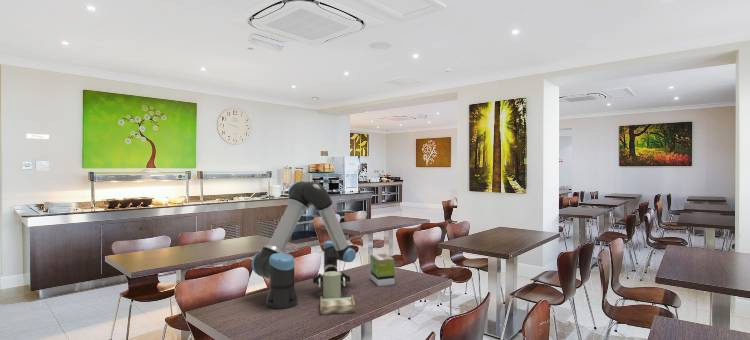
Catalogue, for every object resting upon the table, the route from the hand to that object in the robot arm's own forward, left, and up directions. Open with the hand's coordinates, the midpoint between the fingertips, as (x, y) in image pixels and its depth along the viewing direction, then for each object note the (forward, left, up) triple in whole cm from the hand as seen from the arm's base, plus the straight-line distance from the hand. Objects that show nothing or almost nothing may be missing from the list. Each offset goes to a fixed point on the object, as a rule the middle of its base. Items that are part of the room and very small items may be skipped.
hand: (332, 283), depth 206 cm
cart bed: (+2, -14, -7) cm, 16 cm away
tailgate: (+2, -5, -7) cm, 9 cm away
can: (0, +4, -7) cm, 8 cm away
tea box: (+29, +25, -8) cm, 39 cm away
